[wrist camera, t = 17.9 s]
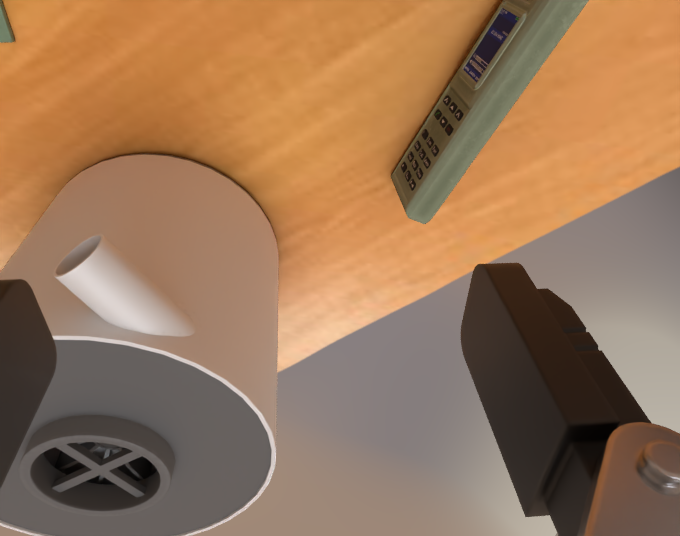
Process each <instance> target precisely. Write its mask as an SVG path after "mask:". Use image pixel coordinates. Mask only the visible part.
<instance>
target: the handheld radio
mask: <svg viewBox="0 0 680 536" xmlns="http://www.w3.org/2000/svg"><path fill="white" fill-rule="evenodd" d="M588 1H589V0H503V1H502V3H501V4H500V6H499V7H498V9H497V10H496V12H495V13H494V15H493V17H492V18H491V20H490V21H489V23H488V24H487V26H486V27H485V29H484V31H483V32H482V34H481V35H480V37H479V38H478V40H477V41H476V43H475V45H474V46H473V48H472V49H471V51H470V52H469V54H468V55H467V57H466V59H465V60H464V62H463V63H462V65H461V66H460V68H459V69H458V71H457V73H456V74H455V76H454V77H453V79H452V80H451V82H450V83H449V85H448V87H447V88H446V90H445V91H444V93H443V95H442V96H441V98H440V99H439V101H438V102H437V104H436V106H435V107H434V109H433V110H432V112H431V113H430V115H429V117H428V118H427V120H426V121H425V123H424V125H423V126H422V128H421V129H420V131H419V132H418V134H417V136H416V137H415V139H414V140H413V142H412V143H411V145H410V147H409V148H408V150H407V151H406V153H405V155H404V156H403V158H402V159H401V161H400V162H399V164H398V166H397V167H396V169H395V170H394V172H393V173H392V175H391V179H392V181H393V183H394V186H395V188H396V190H397V193H398V195H399V198H400V200H401V202H402V205H403V207H404V209H405V212H406V214H407V216H408V218H410V219H412V220H415V221H417V222H420V223H423V224H426V223H427V222H429V221H430V220H431V219H432V217H433V216H434V215H435V214H436V212H437V211H438V210H439V208H440V207H441V205H442V204H443V203H444V201H445V200H446V198H447V197H448V196H449V194H450V193H451V192H452V190H453V189H454V187H455V186H456V185H457V183H458V182H459V180H460V179H461V178H462V176H463V175H464V173H465V172H466V170H467V169H468V167H469V166H470V165H471V163H472V162H473V160H474V159H475V158H476V156H477V155H478V154H479V152H480V151H481V149H482V148H483V147H484V145H485V144H486V142H487V141H488V140H489V138H490V137H491V136H492V134H493V133H494V131H495V130H496V129H497V127H498V126H499V124H500V123H501V122H502V120H503V119H504V117H505V116H506V115H507V113H508V112H509V111H510V109H511V108H512V106H513V105H514V104H515V102H516V101H517V99H518V98H519V97H520V95H521V94H522V92H523V91H524V90H525V88H526V87H527V86H528V84H529V83H530V81H531V80H532V79H533V77H534V76H535V74H536V73H537V72H538V70H539V69H540V67H541V66H542V65H543V63H544V62H545V61H546V59H547V58H548V56H549V55H550V54H551V52H552V51H553V49H554V48H555V47H556V45H557V44H558V42H559V41H560V40H561V38H562V37H563V36H564V34H565V33H566V31H567V30H568V29H569V27H570V26H571V24H572V23H573V22H574V20H575V19H576V18H577V16H578V15H579V13H580V12H581V11H582V9H583V8H584V6H585V5H586V4H587V2H588Z"/></svg>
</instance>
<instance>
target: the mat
mask: <svg viewBox="0 0 680 536" xmlns="http://www.w3.org/2000/svg"><path fill="white" fill-rule="evenodd" d="M14 41H15V39H14V36H13V33H12V30H11V27H10V24H9V21H8V18H7V15H6V12H5V9H4V6H3V3H2V0H0V42H14Z"/></svg>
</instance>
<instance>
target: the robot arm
mask: <svg viewBox="0 0 680 536" xmlns="http://www.w3.org/2000/svg"><path fill="white" fill-rule="evenodd" d="M461 345H462V351H463V355H464V358H465V361H466V363H467V366H468V368H469V371H470V374H471V376H472V379H473V381H474V384H475V386H476V389H477V392H478V394H479V397H480V399H481V402H482V405H483V407H484V410H485V413H486V415H487V418H488V420H489V423H490V425H491V428H492V431H493V433H494V436H495V438H496V441H497V444H498V446H499V449H500V451H501V454H502V457H503V459H504V462H505V464H506V467H507V470H508V472H509V475H510V478H511V480H512V483H513V485H514V488H515V490H516V493H517V496H518V498H519V501H520V504H521V506H522V509H523V511H524V514H525V517H532V516H545V515H550V516H551V519H552V521H553V523H554V526H555V528H556V530H557V534H556V536H680V434H679V433H677V432H675V431H673V430H671V429H668V428H666V427H663V426H660V425H656V424H652V423H651V422H650V420H649V419H648V418H647V416H646V415H645V413H644V412H643V410H642V409H641V407H640V406H639V405H638V403H637V402H636V400H635V399H634V397H633V396H632V395H631V393H630V391H629V390H628V388H627V387H626V385H625V384H624V383H623V381H622V380H621V378H620V377H619V375H618V374H617V373H616V371H615V369H614V368H613V367H612V365H611V364H610V362H609V361H608V359H607V358H606V357H605V355H604V353H603V352H602V351H599V350H598V345H597V343H596V342H595V341H594V339H593V337H592V336H591V335H590V333H589V332H586V327H585V326H584V324H583V323H582V321H581V320H580V318H579V317H578V316H577V314H576V313H575V311H574V310H573V308H572V307H571V306H570V305H569V304H567V303H566V302H564V301H563V300H562V299H561V298H559V297H558V296H557V295H555V294H554V293H553V292H552V291H550V290H549V289H537V288H536V287H535V285H534V283H533V282H532V280H531V279H530V277H529V276H528V274H527V273H526V271H525V269H524V268H523V266H522V265H521V264H519V263H497V264H478V265H477V266H476V267H475V269H474V271H473V275H472V279H471V284H470V288H469V293H468V297H467V302H466V306H465V311H464V316H463V320H462V325H461ZM56 363H57V351H56V345H55V342H54V339H53V337H52V335H51V332H50V330H49V328H48V325H47V323H46V320H45V318H44V316H43V313H42V311H41V309H40V306H39V304H38V302H37V299H36V297H35V295H34V292H33V290H32V288H31V286H30V285H29V284H28V283H27V282H26V281H25V280H23V279H9V280H0V489H1V487H2V485H3V482H4V480H5V478H6V476H7V474H8V472H9V470H10V468H11V465H12V463H13V461H14V459H15V457H16V455H17V453H18V451H19V448H20V446H21V444H22V442H23V440H24V438H25V436H26V434H27V431H28V429H29V427H30V425H31V423H32V421H33V419H34V417H35V414H36V412H37V410H38V408H39V406H40V404H41V402H42V400H43V397H44V395H45V393H46V391H47V389H48V387H49V385H50V383H51V380H52V378H53V376H54V373H55V369H56Z"/></svg>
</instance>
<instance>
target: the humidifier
mask: <svg viewBox="0 0 680 536" xmlns="http://www.w3.org/2000/svg"><path fill="white" fill-rule="evenodd" d="M278 272H279V254H278V248H277V242H276V237H275V235H274V232H273V230H272V227H271V224H270V222H269V220H268V219H267V217H266V215H265V214H264V212H263V211H262V209H261V207H260V206H259V205H258V204H257V202H256V201H255V200H254V199H253V198H252V197H251V196H250V195H249V194H248V193H247V191H245V190H244V189H243V188H242V187H240V186H239V185H238V184H237V183H235V182H234V181H233V180H232V179H230V178H229V177H227V176H225V175H223V174H222V173H220V172H218V171H216V170H214V169H213V168H211V167H208V166H206V165H203V164H200V163H198V162H195V161H193V160H190V159H185V158H181V157H176V156H172V155H165V154H149V153H142V154H132V155H122V156H119V157H115V158H112V159H108V160H104V161H101V162H99V163H97V164H95V165H93V166H91V167H89V168H87V169H85V170H83V171H82V172H80V173H79V174H78V175H77V176H75V177H74V178H73V179H71V180H70V181H69V182H68V183H67V184H66V185H65V186H64V187H63V189H62V190H61V191H60V192H59V193H58V195H57V196H56V197H55V199H54V200H53V201H52V203H51V204H50V205H49V207H48V208H47V209H46V211H45V212H44V213H43V215H42V216H41V218H40V219H39V220H38V222H37V223H36V224H35V226H34V227H33V228H32V230H31V231H30V232H29V234H28V235H27V237H26V238H25V239H24V241H23V242H22V243H21V245H20V246H19V247H18V249H17V250H16V251H15V253H14V254H13V256H12V257H11V258H10V260H9V261H8V262H7V264H6V265H5V266H4V268H3V269H2V270H1V272H0V280H9V279H23V280H25V281H26V282H27V283H28V284H29V285H30V286H31V288H32V290H33V292H34V295H35V297H36V299H37V302H38V304H39V306H40V309H41V311H42V313H43V316H44V318H45V320H46V323H47V325H48V328H49V330H50V332H51V335H52V337H53V339H54V342H55V345H56V351H57V363H56V369H55V373H54V376H53V378H52V380H51V383H50V385H49V387H48V389H47V391H46V393H45V395H44V397H43V400H42V402H41V404H40V406H39V408H38V410H37V412H36V414H35V417H34V419H33V421H32V423H31V425H30V427H29V429H28V431H27V434H26V436H25V438H24V440H23V442H22V444H21V446H20V448H19V451H18V453H17V455H16V457H15V459H14V461H13V463H12V465H11V468H10V470H9V472H8V474H7V476H6V478H5V480H4V482H3V485H2V487H1V489H0V525H1V526H3V527H6V528H9V529H13V530H16V531H19V532H22V533H26V534H29V535H33V536H191V535H194V534H197V533H200V532H203V531H206V530H209V529H211V528H214V527H216V526H218V525H220V524H222V523H224V522H226V521H229V520H230V519H232V518H233V517H235V516H236V515H238V514H239V513H241V512H243V511H244V510H246V509H247V508H248V507H249V506H250V505H251V504H252V503H253V502H254V501H255V500H256V499H258V498H259V497H260V495H261V494H262V492H263V491H264V489H265V488H266V487H267V485H268V484H269V482H270V479H271V477H272V474H273V471H274V468H275V460H276V423H277V419H276V418H277V416H276V415H277V348H278Z"/></svg>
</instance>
